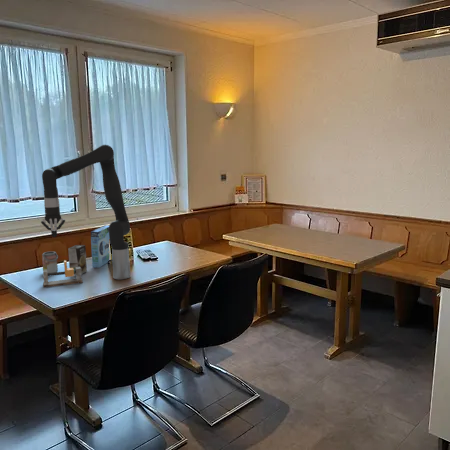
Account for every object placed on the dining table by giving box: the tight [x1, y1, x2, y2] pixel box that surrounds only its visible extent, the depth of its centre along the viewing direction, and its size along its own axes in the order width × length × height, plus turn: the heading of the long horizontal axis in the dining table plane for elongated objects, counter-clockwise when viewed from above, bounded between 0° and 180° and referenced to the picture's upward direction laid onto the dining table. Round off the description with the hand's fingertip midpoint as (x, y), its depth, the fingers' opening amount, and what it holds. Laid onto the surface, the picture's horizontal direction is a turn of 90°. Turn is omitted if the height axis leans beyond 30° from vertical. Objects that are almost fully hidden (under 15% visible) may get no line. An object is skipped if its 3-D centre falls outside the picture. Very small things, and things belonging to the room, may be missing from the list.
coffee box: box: [67, 244, 88, 276], centre depth 257 cm, size 9×6×16 cm
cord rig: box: [42, 267, 83, 288], centre depth 239 cm, size 20×6×8 cm, turn 113°
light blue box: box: [90, 225, 110, 269], centre depth 276 cm, size 20×5×23 cm, turn 169°
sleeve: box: [63, 260, 75, 278], centre depth 239 cm, size 4×4×8 cm
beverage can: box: [41, 251, 59, 273], centre depth 258 cm, size 9×8×12 cm
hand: (54, 236), depth 240 cm, fingers closed
